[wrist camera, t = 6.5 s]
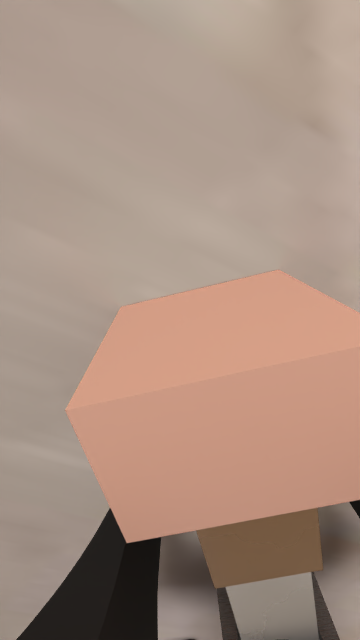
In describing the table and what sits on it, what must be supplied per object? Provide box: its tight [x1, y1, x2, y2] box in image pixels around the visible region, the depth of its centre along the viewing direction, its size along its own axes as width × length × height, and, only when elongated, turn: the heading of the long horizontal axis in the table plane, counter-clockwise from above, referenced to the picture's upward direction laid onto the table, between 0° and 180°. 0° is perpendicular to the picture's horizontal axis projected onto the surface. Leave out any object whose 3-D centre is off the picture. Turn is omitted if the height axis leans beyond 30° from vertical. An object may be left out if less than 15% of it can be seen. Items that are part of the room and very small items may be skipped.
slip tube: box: [196, 508, 323, 640], centre depth 12 cm, size 17×4×4 cm, turn 13°
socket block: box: [65, 270, 360, 543], centre depth 10 cm, size 4×7×7 cm, turn 103°
